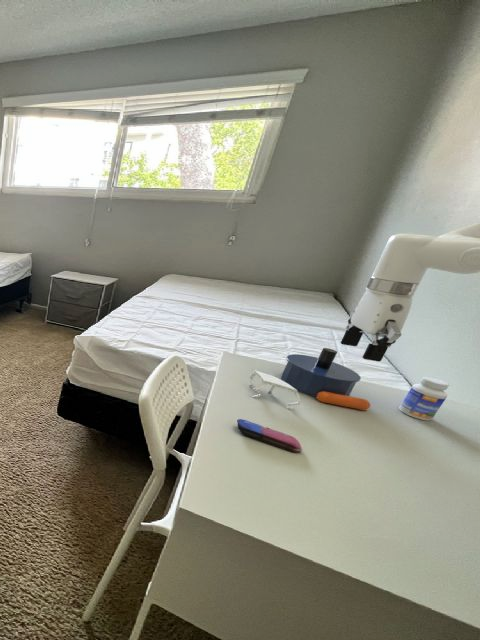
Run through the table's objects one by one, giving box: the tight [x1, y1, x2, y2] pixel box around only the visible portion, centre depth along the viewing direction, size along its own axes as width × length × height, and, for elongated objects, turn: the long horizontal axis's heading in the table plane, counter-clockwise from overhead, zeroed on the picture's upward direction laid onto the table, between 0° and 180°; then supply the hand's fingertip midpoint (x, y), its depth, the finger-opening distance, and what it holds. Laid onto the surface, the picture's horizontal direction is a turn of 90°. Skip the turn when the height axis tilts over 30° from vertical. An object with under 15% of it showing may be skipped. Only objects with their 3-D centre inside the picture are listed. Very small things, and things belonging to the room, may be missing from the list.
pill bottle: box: [398, 376, 450, 421], centre depth 85 cm, size 5×5×10 cm
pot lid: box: [286, 347, 362, 383], centre depth 94 cm, size 15×15×6 cm
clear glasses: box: [249, 369, 302, 410], centre depth 89 cm, size 12×8×5 cm
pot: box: [280, 361, 357, 398], centre depth 95 cm, size 14×14×6 cm
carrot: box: [317, 391, 371, 411], centre depth 88 cm, size 3×3×10 cm
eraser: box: [236, 418, 303, 453], centre depth 73 cm, size 11×4×2 cm, turn 56°
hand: (359, 352), depth 88 cm, fingers open, 9 cm apart
